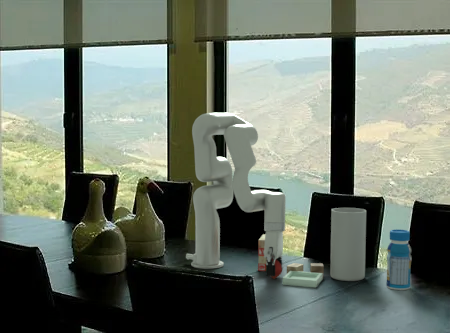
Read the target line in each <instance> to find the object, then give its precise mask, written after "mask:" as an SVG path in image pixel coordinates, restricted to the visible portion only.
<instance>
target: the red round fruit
mask: <svg viewBox="0 0 450 333" xmlns="http://www.w3.org/2000/svg"><path fill="white" fill-rule="evenodd" d="M272 261H273V259H272ZM282 273H283V264H282V265H281V264H280V262H279V261H278V260H276V259H275V276H270V277H271V279H273V280H275V279H277V278H278V277H280V275H282Z"/></svg>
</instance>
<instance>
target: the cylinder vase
mask: <svg viewBox="0 0 450 333" xmlns="http://www.w3.org/2000/svg"><path fill="white" fill-rule="evenodd" d="M330 220H331V222H330V225H331V226H330V231H331V232H330V274H329V275H330V277H331V278H332V279H334V280H337V281H342V282H343V281H344V282H358V281H362V280H363V279H365V276H366V242H367V241H366V239H367V238H366V237H367V210H366V209H364V208H356V207H338V208H337V207H335V208H331V217H330Z"/></svg>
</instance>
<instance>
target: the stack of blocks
mask: <svg viewBox="0 0 450 333" xmlns="http://www.w3.org/2000/svg"><path fill="white" fill-rule="evenodd" d="M265 235H266V233H265V234H264V233H263V234H262V235H261V236H260V238H259V239H258V249H257V252H258V254H257V256H258V262H257V264H258V265H257V271H258V272H266V263H267V261H266V260H267V258H264V246H265ZM280 260H282V259H280Z"/></svg>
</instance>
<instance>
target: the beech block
mask: <svg viewBox="0 0 450 333" xmlns="http://www.w3.org/2000/svg"><path fill="white" fill-rule="evenodd" d="M289 271H301V272H304V263H297V262H293V263H291V264H288V265H286V274H287V273H288V272H289Z"/></svg>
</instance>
